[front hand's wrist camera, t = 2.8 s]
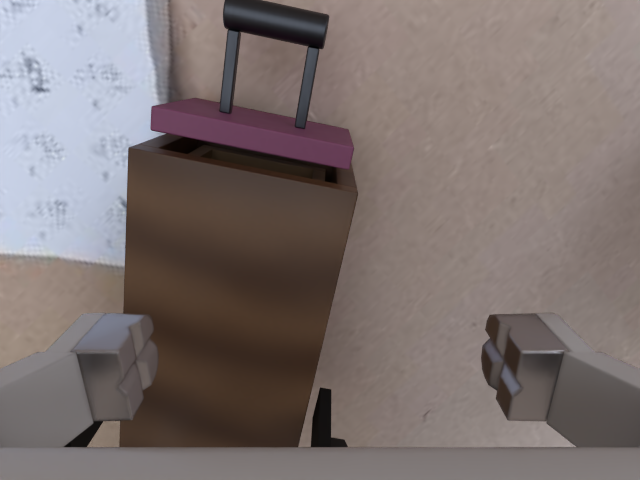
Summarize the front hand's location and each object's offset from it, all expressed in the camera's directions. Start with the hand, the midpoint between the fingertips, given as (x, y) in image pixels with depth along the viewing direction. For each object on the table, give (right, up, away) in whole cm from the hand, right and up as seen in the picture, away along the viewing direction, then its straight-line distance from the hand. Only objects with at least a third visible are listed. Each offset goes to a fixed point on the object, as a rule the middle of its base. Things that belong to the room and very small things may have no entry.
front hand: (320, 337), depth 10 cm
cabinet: (-5, 0, +23) cm, 23 cm away
